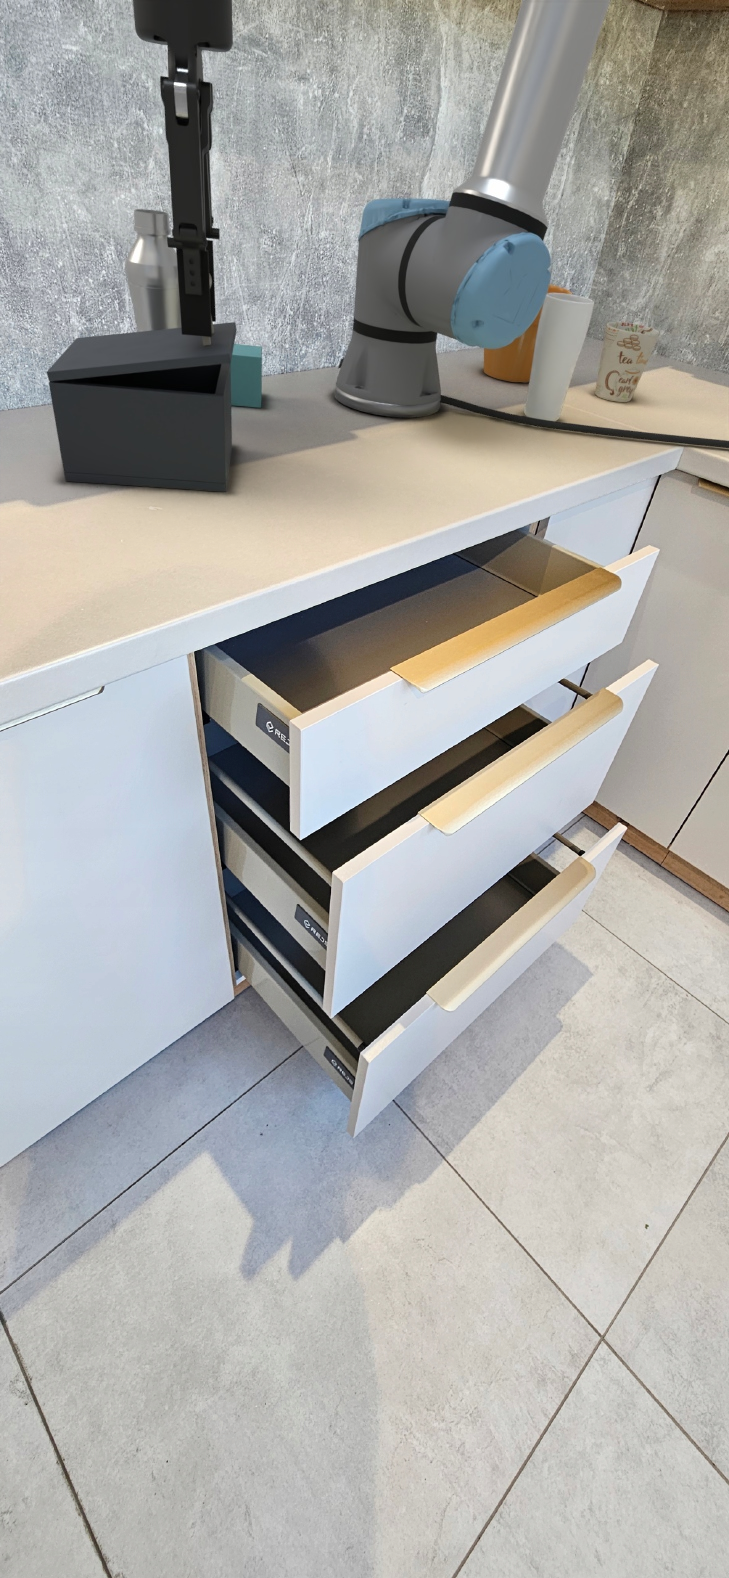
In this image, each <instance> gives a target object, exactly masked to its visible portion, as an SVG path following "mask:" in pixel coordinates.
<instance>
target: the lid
mask: <svg viewBox="0 0 729 1578" xmlns="http://www.w3.org/2000/svg"><path fill="white" fill-rule="evenodd" d="M209 279H210V288H211V285H212V278H211V275H210V273H209ZM236 323H237V322H235V321H232V322H223V323H213V322H212V316H211V326H212V337H206V336H194V335H182V329H181V328H172V329H162V330H152V331H142V332H137V331H133V332H124V333H123V332H122V333H114V334H105V335H103V334H102V335H93V336H85V337H76V339H74V340H73V342H71V344H70V345H69V346H68V347H67V348H66V350H64V352H63V353H62V354H61V355H60V356H59V357H58V359H57V360H56V361H54V363H53V364H52V365H51V366H50V367H49V368H48V370H47V371H46V375H47V378H48V381H49V382H50V381H60V380H69V379H79V378H89V377H99V376H109V375H118V374H128V373H138V372H148V371H157V370H167V369H177V368H187V367H197V366H206V365H216V364H226V363H231V359H232V353H233V348H234V344H235V342H236V341H235V340H236V336H237V335H236V334H237V332H238V331H237V324H236Z"/></svg>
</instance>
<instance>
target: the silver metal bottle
mask: <svg viewBox="0 0 729 1578" xmlns="http://www.w3.org/2000/svg"><path fill="white" fill-rule="evenodd" d="M133 222H134V223H133V224H134V225H133V231H134V232H136V239H135V241H134V243H133V244H132V245H131V247H130V250H129V252H128V254H127V256H126V260H125V264H124V270H125V277H126V279H127V281H126V282H127V286H128V290H129V295H130V299H131V304H132V308H133V316H134V322H135V325H136V326H135V329H136V332H142V331H152V330H162V329H172V328H181V314H180V299H179V284H178V269H177V253H176V249H175V248H169V247H168V244H167V237H169V235H171V236H172V229H171V225H170V213H169V212H166V211H161V210H155V209H145V208H143V209H142V208H136V209H135V208H134V209H133Z"/></svg>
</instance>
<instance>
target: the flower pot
mask: <svg viewBox="0 0 729 1578" xmlns="http://www.w3.org/2000/svg"><path fill="white" fill-rule="evenodd" d="M547 293H564V294H571V295H573V293H572V292H571V291H570V290H568V289H567V288H564V287H561V286H559V285H554V284H549V288H548V292H547ZM542 307H543V305H542ZM542 307H541V309H540V311H539V313H538V315H537V316H536V318H535V320H534V321H533V323H532V324H531V325H530V327H529V328H528V329H527V330H526V331H525V332H524V333H523V334H522V335H521V336H520V337H518V338H515V339H514V341H513V342H512V343H510V344H509V345H507V346H505V347H502V348H498V349H486V348H483V372H484V374H486V375H487V376H488V377H490V378H491V377H492V378H493V379H497V380H501V381H505V382H510V383H529V381H530V375H531V368H532V361H533V355H534V348H535V341H536V335H537V329H538V324H539V319H540V315H541V311H542Z"/></svg>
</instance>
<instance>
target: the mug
mask: <svg viewBox="0 0 729 1578" xmlns="http://www.w3.org/2000/svg"><path fill="white" fill-rule="evenodd" d="M659 337H660V331H659V330H658V329H656V328H652V327H650V326H646V325H640V324H637V323H630V322H622V321H609V322H607V324H606V326H605V329H604V337H603V341H602V347H601V353H600V359H599V367H598V370H597V371H598V372H597V378H596V383H595V390H594V394H595V396H596V397H598V398H601V399H603V400H607V401H610V402H618V403H628V402H631V400H632V398H633V396H634V394H635V392H636V389H637V387H638V385H639V382H640V380H641V378H642V376H643V374H644V371H645V369H646V367H647V364H648V362H649V360H650V357H651V355H652V353H653V350H654V348H655V346H656V343H657V342H658V339H659Z"/></svg>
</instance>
